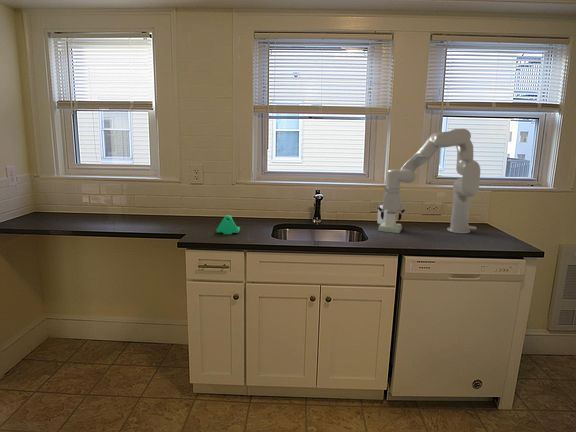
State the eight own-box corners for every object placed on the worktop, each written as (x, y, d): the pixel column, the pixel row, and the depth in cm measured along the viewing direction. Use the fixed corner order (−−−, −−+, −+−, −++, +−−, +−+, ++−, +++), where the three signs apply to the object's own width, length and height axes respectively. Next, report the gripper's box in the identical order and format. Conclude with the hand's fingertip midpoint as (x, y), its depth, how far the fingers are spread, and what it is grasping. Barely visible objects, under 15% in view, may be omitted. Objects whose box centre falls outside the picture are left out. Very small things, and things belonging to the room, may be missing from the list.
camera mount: (240, 231, 232) (239, 213, 230) (238, 234, 225) (238, 216, 223) (219, 230, 232) (218, 213, 230) (216, 234, 225) (216, 216, 223)
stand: (401, 228, 245) (401, 223, 244) (399, 233, 234) (399, 228, 233) (381, 226, 249) (381, 222, 249) (378, 231, 238) (378, 226, 238)
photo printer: (376, 223, 259) (377, 204, 256) (380, 222, 261) (381, 203, 259) (389, 226, 251) (390, 206, 248) (393, 225, 254) (395, 206, 251)
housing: (394, 226, 236) (395, 213, 235) (385, 225, 238) (386, 212, 237) (395, 224, 244) (396, 210, 242) (387, 223, 246) (388, 210, 244)
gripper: (376, 190, 237) (375, 219, 240) (407, 192, 230) (405, 222, 234) (378, 189, 243) (377, 217, 247) (408, 191, 237) (406, 219, 241)
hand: (390, 219), depth 240 cm, fingers open, 9 cm apart
